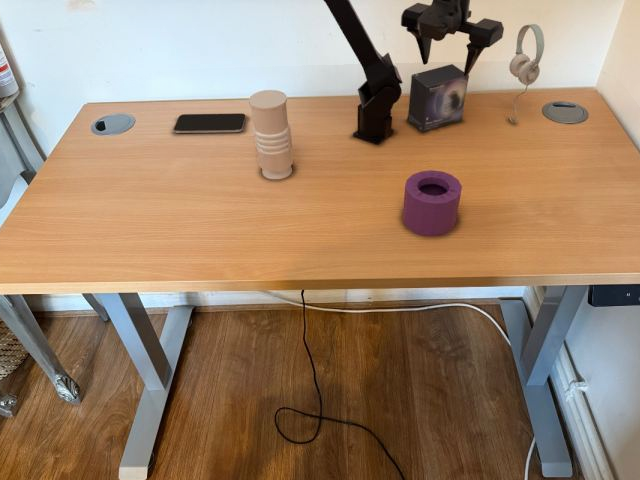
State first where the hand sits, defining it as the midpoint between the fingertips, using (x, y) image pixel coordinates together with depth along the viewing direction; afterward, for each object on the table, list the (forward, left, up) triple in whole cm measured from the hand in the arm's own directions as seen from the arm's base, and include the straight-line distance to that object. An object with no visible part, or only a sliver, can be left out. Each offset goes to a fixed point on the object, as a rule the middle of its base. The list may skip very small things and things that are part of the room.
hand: (445, 69), depth 105 cm
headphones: (+12, +12, -13) cm, 21 cm away
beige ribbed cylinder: (-18, -31, -13) cm, 39 cm away
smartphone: (-42, -26, -13) cm, 52 cm away
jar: (+14, -27, -13) cm, 33 cm away
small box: (-2, +3, -13) cm, 14 cm away
